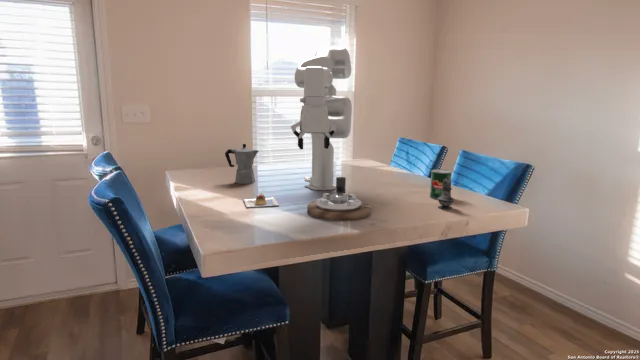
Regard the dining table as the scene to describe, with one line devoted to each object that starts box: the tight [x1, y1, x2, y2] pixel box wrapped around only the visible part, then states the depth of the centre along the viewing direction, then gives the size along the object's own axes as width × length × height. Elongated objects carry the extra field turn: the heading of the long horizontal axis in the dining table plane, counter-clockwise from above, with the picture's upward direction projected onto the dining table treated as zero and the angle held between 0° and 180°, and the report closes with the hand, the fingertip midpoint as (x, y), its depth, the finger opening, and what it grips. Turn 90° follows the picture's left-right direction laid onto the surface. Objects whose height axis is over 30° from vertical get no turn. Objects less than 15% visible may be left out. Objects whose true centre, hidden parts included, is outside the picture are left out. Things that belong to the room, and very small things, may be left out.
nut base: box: [306, 200, 371, 222], centre depth 150 cm, size 22×22×2 cm
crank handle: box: [315, 176, 362, 212], centre depth 153 cm, size 24×16×7 cm
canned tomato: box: [429, 168, 452, 200], centre depth 171 cm, size 8×8×11 cm
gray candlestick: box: [437, 176, 455, 211], centre depth 155 cm, size 6×6×12 cm
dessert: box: [242, 192, 280, 209], centre depth 160 cm, size 12×12×5 cm
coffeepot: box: [224, 143, 260, 185], centre depth 197 cm, size 15×9×18 cm, turn 103°
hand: (313, 148), depth 157 cm, fingers open, 9 cm apart
